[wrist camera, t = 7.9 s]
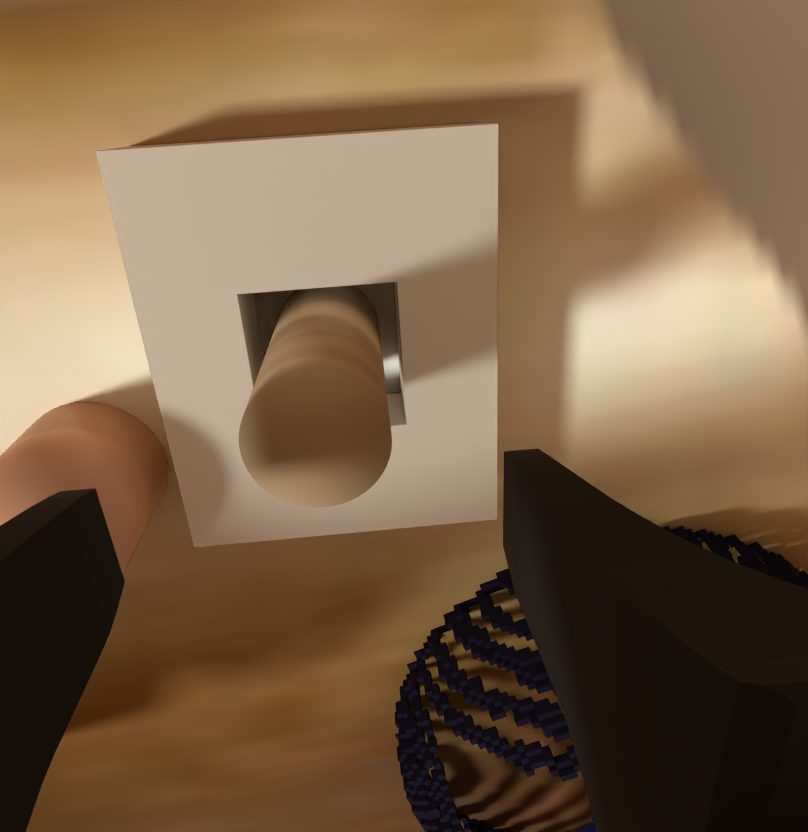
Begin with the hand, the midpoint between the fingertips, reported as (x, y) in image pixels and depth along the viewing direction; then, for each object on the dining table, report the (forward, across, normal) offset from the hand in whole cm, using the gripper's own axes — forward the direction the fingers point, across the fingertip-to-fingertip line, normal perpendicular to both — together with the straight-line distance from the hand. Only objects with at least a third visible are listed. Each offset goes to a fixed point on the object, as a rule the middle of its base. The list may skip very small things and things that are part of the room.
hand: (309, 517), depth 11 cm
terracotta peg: (+10, +8, +4) cm, 14 cm away
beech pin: (+10, 0, 0) cm, 10 cm away
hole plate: (+10, 0, 0) cm, 10 cm away
